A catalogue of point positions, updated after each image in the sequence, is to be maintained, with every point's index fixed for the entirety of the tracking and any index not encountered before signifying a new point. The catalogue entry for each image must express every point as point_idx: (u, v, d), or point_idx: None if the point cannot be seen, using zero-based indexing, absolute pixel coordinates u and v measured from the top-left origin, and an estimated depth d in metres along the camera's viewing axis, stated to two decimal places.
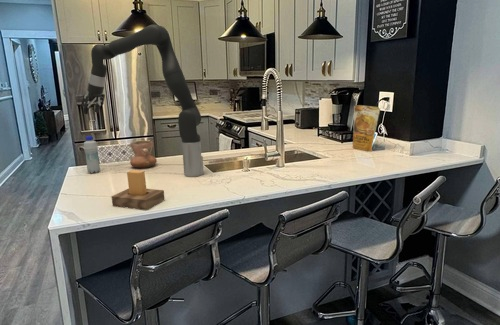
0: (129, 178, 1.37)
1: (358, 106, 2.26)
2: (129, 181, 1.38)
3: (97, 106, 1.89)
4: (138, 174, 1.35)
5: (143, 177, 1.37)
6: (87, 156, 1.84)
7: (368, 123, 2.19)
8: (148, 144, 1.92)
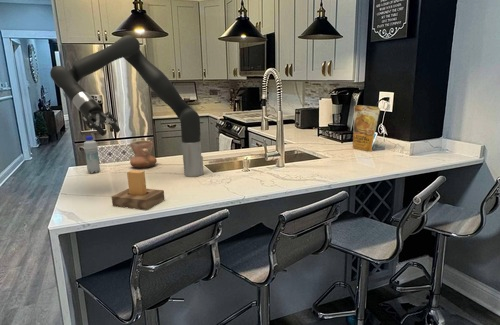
0: (129, 178, 1.37)
1: (358, 106, 2.26)
2: (129, 181, 1.38)
3: (113, 125, 1.50)
4: (138, 174, 1.35)
5: (143, 177, 1.37)
6: (87, 156, 1.84)
7: (368, 123, 2.19)
8: (148, 144, 1.92)
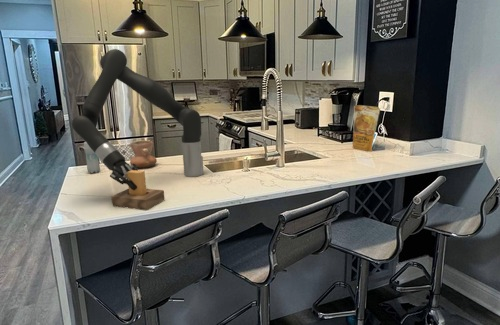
0: None
1: (358, 106, 2.26)
2: None
3: None
4: (138, 174, 1.35)
5: (143, 177, 1.37)
6: (87, 156, 1.84)
7: (368, 123, 2.19)
8: (148, 144, 1.92)
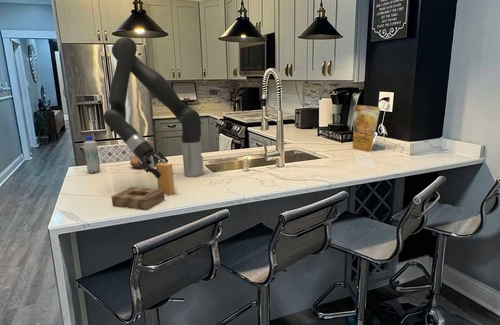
0: (158, 170, 1.48)
1: (358, 106, 2.26)
2: None
3: None
4: (166, 166, 1.46)
5: (171, 169, 1.48)
6: (87, 156, 1.84)
7: (368, 123, 2.19)
8: None
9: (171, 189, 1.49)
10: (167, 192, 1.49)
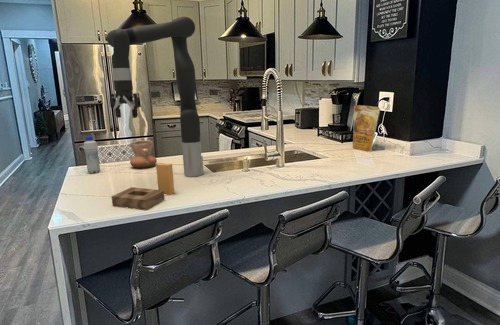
0: (158, 170, 1.48)
1: (358, 106, 2.26)
2: (158, 173, 1.48)
3: (118, 109, 1.53)
4: (167, 166, 1.46)
5: (171, 169, 1.48)
6: (87, 156, 1.84)
7: (368, 123, 2.19)
8: (148, 144, 1.92)
9: (171, 189, 1.49)
10: (167, 192, 1.49)
